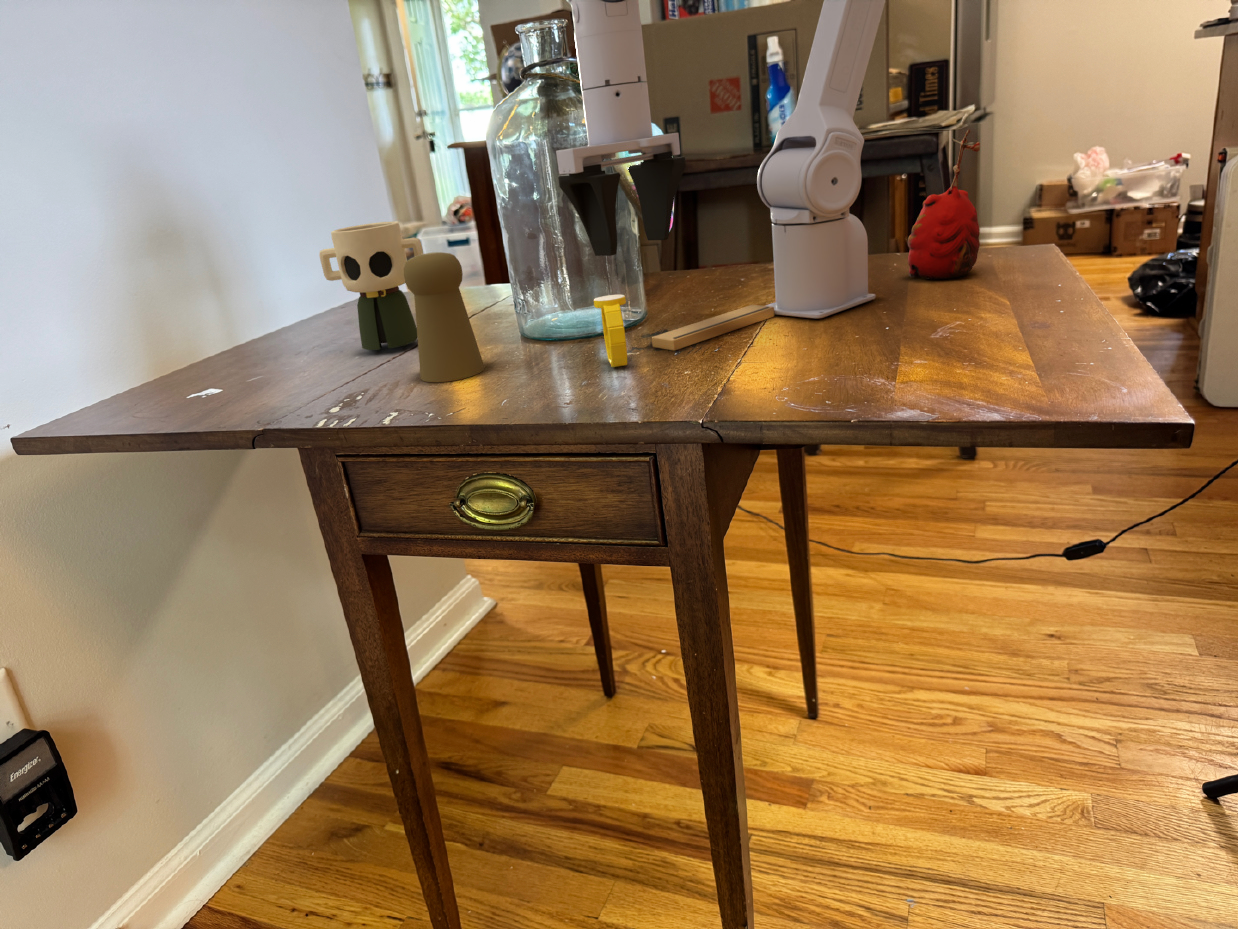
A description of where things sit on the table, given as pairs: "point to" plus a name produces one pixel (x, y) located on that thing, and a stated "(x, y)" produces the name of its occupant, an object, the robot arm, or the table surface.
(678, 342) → the ruler
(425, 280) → the cork
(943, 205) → the red bumpy oval piece
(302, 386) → the table surface
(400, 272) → the character mug
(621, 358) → the watch
